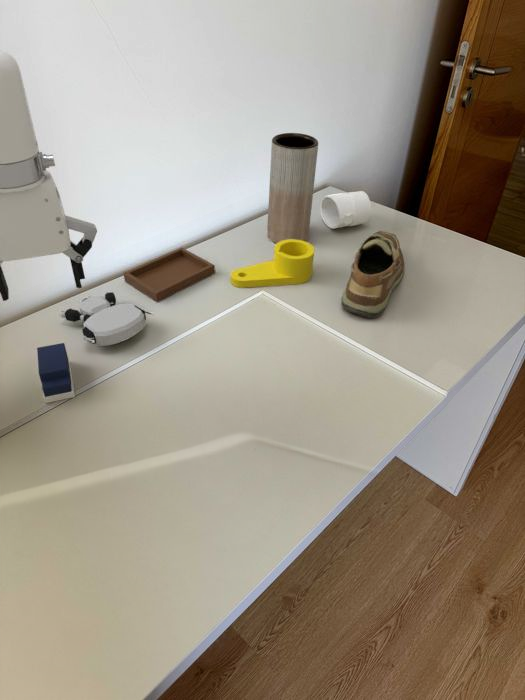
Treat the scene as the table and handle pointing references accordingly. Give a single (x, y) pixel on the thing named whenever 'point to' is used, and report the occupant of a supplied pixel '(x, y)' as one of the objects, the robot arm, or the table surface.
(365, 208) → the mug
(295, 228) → the planter
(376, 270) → the boat shoe
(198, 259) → the tray
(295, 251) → the crank
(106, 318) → the robot toy
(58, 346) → the navy stepped block
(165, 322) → the table surface
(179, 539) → the table surface
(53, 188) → the robot arm
